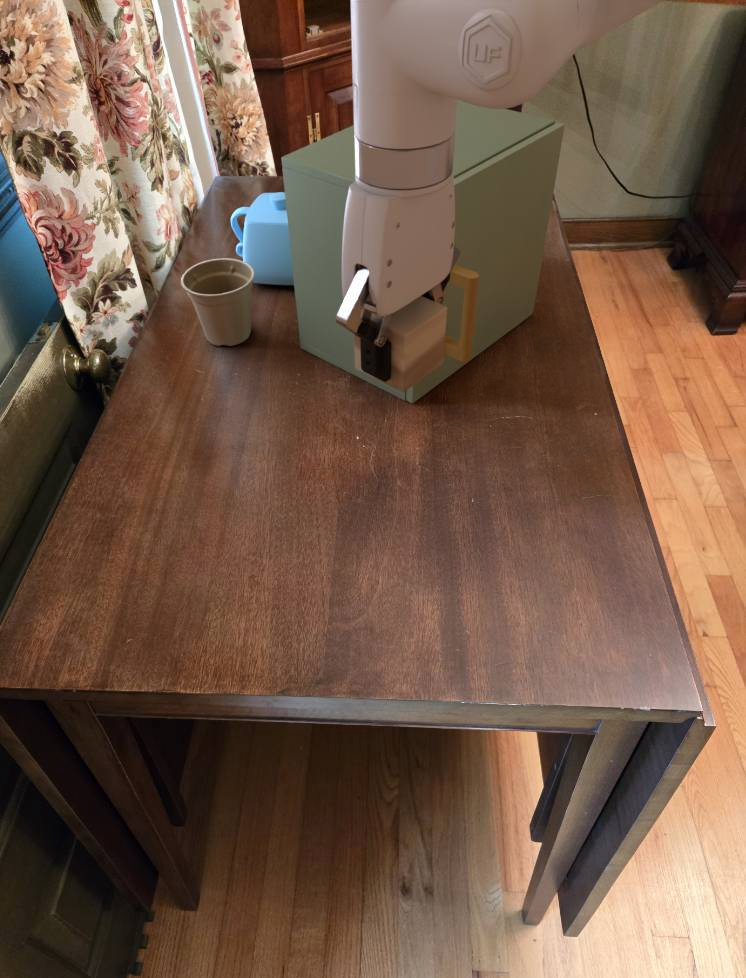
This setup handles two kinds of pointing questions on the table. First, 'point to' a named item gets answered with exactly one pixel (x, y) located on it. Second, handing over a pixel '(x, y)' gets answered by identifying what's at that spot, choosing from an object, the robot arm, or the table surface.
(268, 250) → the teapot
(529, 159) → the cupboard door
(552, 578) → the table surface
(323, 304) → the cupboard
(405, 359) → the block
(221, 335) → the flower pot
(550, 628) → the table surface
